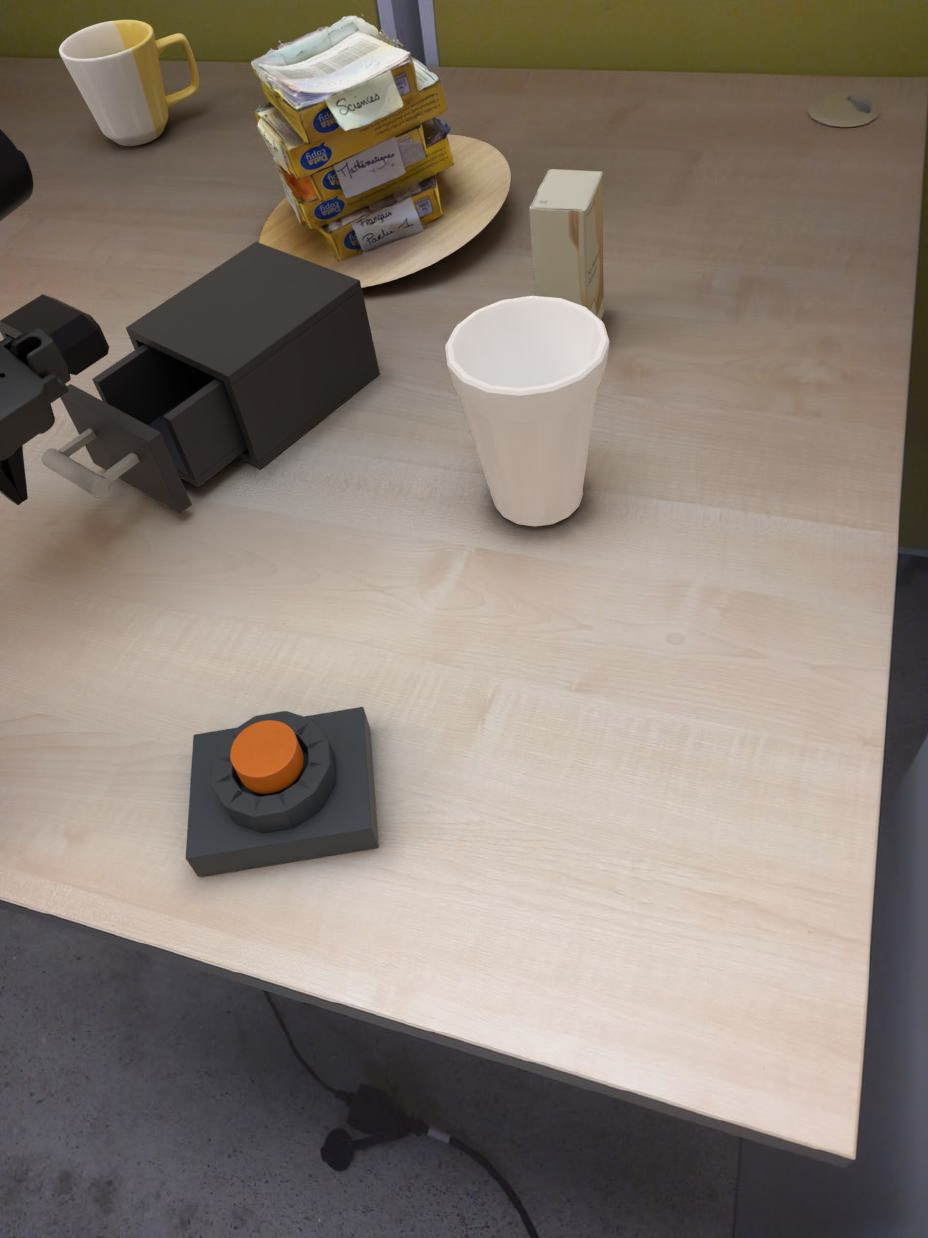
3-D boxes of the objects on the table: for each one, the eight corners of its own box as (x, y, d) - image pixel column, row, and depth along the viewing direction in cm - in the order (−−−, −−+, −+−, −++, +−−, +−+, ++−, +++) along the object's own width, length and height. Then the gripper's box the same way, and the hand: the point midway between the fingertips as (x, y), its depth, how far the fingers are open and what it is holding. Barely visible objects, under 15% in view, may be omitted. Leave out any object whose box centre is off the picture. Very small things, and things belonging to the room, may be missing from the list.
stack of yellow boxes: (262, 320, 90) (205, 130, 78) (256, 188, 106) (207, 13, 94) (536, 269, 91) (523, 72, 78) (488, 145, 107) (472, -35, 94)
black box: (260, 469, 77) (228, 376, 71) (163, 418, 83) (125, 327, 76) (380, 374, 83) (360, 279, 77) (282, 332, 89) (255, 240, 82)
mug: (97, 164, 114) (58, 65, 106) (93, 127, 121) (57, 32, 113) (217, 135, 116) (188, 36, 108) (207, 100, 122) (178, 4, 114)
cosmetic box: (589, 356, 82) (586, 212, 72) (536, 352, 83) (526, 209, 74) (606, 310, 85) (605, 167, 76) (555, 306, 87) (548, 165, 77)
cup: (451, 473, 75) (426, 318, 65) (580, 437, 76) (575, 279, 66) (491, 567, 68) (470, 410, 58) (632, 526, 69) (635, 365, 59)
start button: (238, 799, 54) (228, 782, 53) (239, 743, 57) (230, 725, 55) (305, 788, 54) (297, 771, 53) (303, 732, 57) (296, 714, 55)
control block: (198, 877, 56) (174, 842, 53) (204, 754, 61) (183, 716, 58) (378, 848, 56) (365, 811, 53) (370, 727, 61) (357, 687, 58)
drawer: (135, 550, 72) (98, 478, 67) (49, 495, 77) (8, 424, 72) (301, 419, 79) (279, 344, 74) (213, 376, 84) (187, 304, 79)
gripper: (-190, 440, 49) (-33, 642, 61) (113, 252, 57) (200, 463, 69) (-289, 367, 54) (-126, 567, 66) (2, 205, 63) (100, 408, 74)
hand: (19, 500), depth 69 cm, fingers closed
